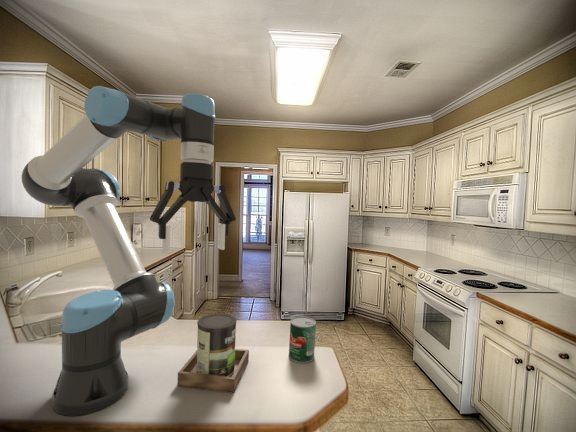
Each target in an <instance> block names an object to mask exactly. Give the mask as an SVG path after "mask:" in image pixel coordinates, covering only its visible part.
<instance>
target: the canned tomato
mask: <svg viewBox="0 0 576 432" xmlns="http://www.w3.org/2000/svg"><path fill="white" fill-rule="evenodd" d="M316 324H317V321H316V320H315V319H314V318H311V317H309V316H295V317H293V318H291V319H290V325H289V327H290V328H289V343H288V344H289V345H288V346H289V347H288V358H289V359H290V360H291V361H293V362H295V363H298V364H299V363H301V364H306V363H307V364H308V363H311V362H312V361H313V360H314V358H315V348H316V347H315V345H316V331H317V330H316V329H317V327H316Z"/></svg>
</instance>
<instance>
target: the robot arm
mask: <svg viewBox="0 0 576 432" xmlns="http://www.w3.org/2000/svg"><path fill="white" fill-rule="evenodd" d="M180 105H181V106H177V107H165V106H162V105H159V104H156V103H154V102H151V101H148V100H145V99H142V98H139V97H136V96H133V95H131V94H128V93H126V92H122V91H121V90H118V89H115V88H110V87H105V86H103V85H96V86H93V87H92V88H91V89H90V90H88V91H87V97H85V99H84V112H85V115H84V116H83V117H82V118H81V119H80V120H79V121H77V123H76V124H75V125H74V126H72V127H71V128H70V129H69V130H68V131H67V132H66V133H65V134H64V135H63V136H62V137H61V138H59V139H58V141H56V143H55V144H53V145H52V146H51V147H50V148H49V149H48V150H47V151H46V152H45V153H44V154H43V155H38V156H37V155H36V156H34V157H33V158H32V159H30V160H29V161H28V162H27V164H25V166H24V168H23V170H22V172H21V184H22V187H23V188H24V190H25V192H26V193H27V194H28V196H30V197H31V198H33V199H34V200H35V201H37V202H39V203H42V204H44V205H48V206H53V207H72V209H73V211H74V214H75V215H76V216H77V217H79V218H82V219H84V222H85V224H86V226H87V228H88V230H89V232H90V234H91V235H90V236H91V237H92V239H93V241H94V244H95V245H96V248H97V250H98V253H99V256H101V260H102V262H103V264H104V265H105V268H106V270H107V272H108V274H109V276H110V279H111V282H112V284H113V287H112V289H102V290H100V291H91V292H88V293H85V294H81V295H80V296H77V297H75V298H73V299H72V300H71V301H69V302H68V303H67V304H66V305H65V307H64V308H63V311H62V316H61V322H60V329H61V370H60V374H59V376H58V379H57V381H56V384H55V388H54V389H53V391H52V392H53V393H52V397H51V399H52V400H51V402H52V404H51V405H52V406H51V407H52V409H53V411H54V412H55V413H57V414H58V415H59V414H60V415H63V416H73V417H75V416H81V415H87V414H92V413H95V412H97V411H101V410H102V409H106V408H107V407H109V406H111V405H113V404H114V403H116V402H117V401H118V400H120V399H121V398H122V397H123V396H124V395H125V394H126V392H127V390H128V389H129V388H128V387H129V374H128V372H127V370H126V368H125V365H124V361H123V359H122V354H121V352H122V350H121V349H122V342H124V341H125V340H127V339H128V340H129V339H131V338H133V337H135V336H138V335H140V334H143V333H144V332H148V331H149V330H153V329H156V328H157V327H159V326H160V325H163V324H164V323H166V322H167V321H169V319H170V318H171V317H172V315H173V313H174V308H175V306H176V305H175V304H176V303H175V301H176V300H175V294H174V291H173V289H172V287H171V286H170V285H169V284H168V283H166V282H162V281H158V280H157V278H156V275H155V274H154V273H152V272H149V271H148V272H147V271H146V269H145V267H144V265H143V263H142V261H141V259H140V256H139V255H138V252H137V250H136V248H135V246H134V243H133V242H132V240H131V238H130V235H129V234H128V231H127V229H126V228H125V225H124V223H123V221H122V218H120V215H119V213H118V211H117V209H116V207H117V205H118V203H119V199H120V195H121V192H120V183H119V181H118V179H117V178H116V177H115V176H114V175H113V174H112V173H111V172H110V171H106V170H103V169H99V168H93V167H92V168H84V167H85V166H86V165H88V164H89V163H90V162H91V161H92V160H94V159H95V158H96V157H98V156H99V155H100V154H101V153H102V152H104V151H105V150H106V149H107V148H108V147H110V146H111V145H112V144H113V143H115V142H116V141H117V140H118V139H119V138H120V137H122V136H123V135H124V134H126V133H127V132H132V133H137V134H140V135H145V136H147V137H148V138H150V139H151V140H153V141H161V142H167V141H175V140H177V141H178V140H180V160H181V161H182V162H181V163H180V167H179V168H180V172H179V173H180V174H179V175H180V180H179V183H178V182H174V181H173V180H168V181H166V182H165V187H164V191H163V193H162V195H161V197H160V199H159V201H158V202H157V203H156V206H155V208H154V210H153V212H152V213H151V215H150V217H149V221H150V222H153V223H156V224H157V225H158V238H159V239H160V240H162V253H164V254H165V255H170V251H171V249H170V248H171V225H170V224H168V223H169V221H170V220H171V219H172V218H173V217H174V216H175V215H176V213H177V212H178V211H179V210H180V209H181V208H182V207H183V206H184V205H185V204H186V203H187V202H191V203H194V202H198V203H199V202H200V203H206V205H208V207H209V208H210V209H211V210H212V212H213V214H215V216H216V217H217V219H218V220H219V221H220V222H218V223H217V246H216V247H217V249H219V250H220V251H224V250H226V249H225V248H226V246H225V245H226V244H225V243H226V237H228V235H229V225H230V224H232V223H231V222H235V221H236V220H237V219H236V215H235V214H234V211H233V209H232V206H231V204H230V201H229V199H228V197H227V194H226V186H225V185H224V184H216V185H214V183H213V182H214V180H213V179H214V165H213V164H212V163H214V157H215V156H214V155H215V154H214V153H215V149H214V148H215V146H214V145H215V142H214V141H215V125H216V124H215V122H216V112H215V111H216V110H215V108H216V107H215V101H214V99H213V98H211V97H210V96H208V95H205V94H200V93H193V92H192V93H185V95H183V96H182V98H181V103H180ZM177 189H178V190H179V192H180V193H181V194H179V196H178V197H177V198H176V200H175V201H174V202H173V203H172V204H171V206H170V207H169V208H168V209H167V210H166V211H165V212H164V210H165V209H166V207H167V205H168V204H169V201H170V200H171V198H172V196H173V194H174V192H176V191H177ZM213 193H215V194H217V198H218V201H219V202H220V206H221V207H222V209H221V207H220V206H219V205H218V203H217V202H216V200H215V198H214V197H213V196H212V194H213ZM163 212H164V213H163Z"/></svg>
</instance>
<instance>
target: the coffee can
mask: <svg viewBox="0 0 576 432" xmlns="http://www.w3.org/2000/svg"><path fill="white" fill-rule="evenodd" d="M237 320H238V319H237V318H236V317H235V316H234V315H231V314H227V313H212V314H207V315H205V316H204V315H203V316H202V317H200V318H199V319H198V320H197V322H196V323H197V343H196V344H197V348H196V349H197V350H196V351H197V371H196V373H200V374H209V375H217V376H226V377H230V376H232V374H233V373H234V371H235V349H236V339H237V338H236V333H237V331H236V330H237Z"/></svg>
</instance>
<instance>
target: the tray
mask: <svg viewBox="0 0 576 432" xmlns="http://www.w3.org/2000/svg"><path fill="white" fill-rule="evenodd" d="M249 353H250V349H243V348H235V371H234V373H233V374H232V376H230V377H226V376H217V375H209V374H200V373H196V371H197V350H196V351H195V352H193V354H192V355H191V357H190V358H189V359H188V360H187V361H186V362H185V363H184V365H183V366H182V368H181V369H179V371H178V372H177V387H180V388H188V389H189V388H190V389H198V390H204V391H213V392H223V393H230V394H234V393H235V392H236V390H237V388H238V385H239V383H240V380H241V379H242V376H243V375H244V371H246V368H247V365H248V364H249V358H250V354H249Z"/></svg>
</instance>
